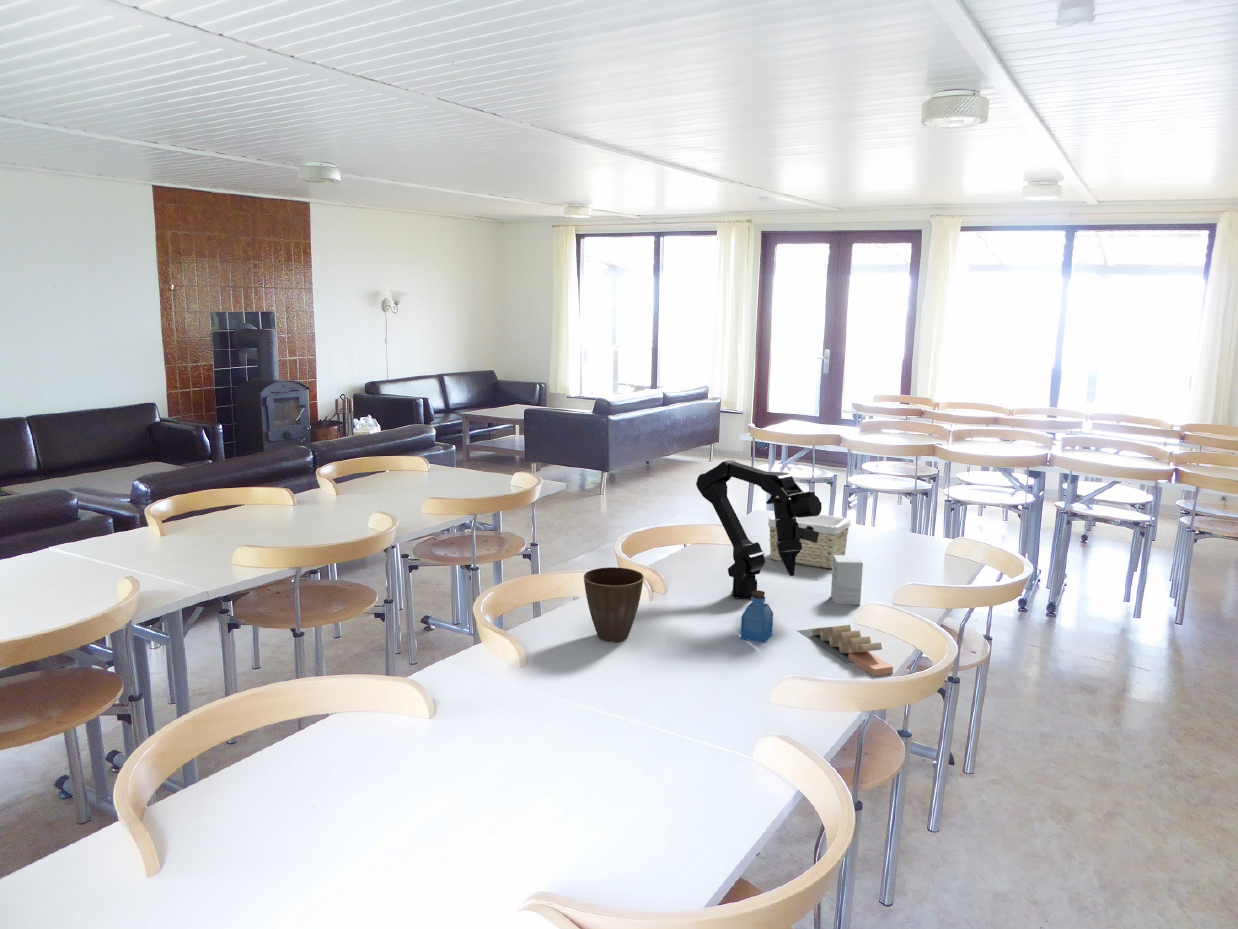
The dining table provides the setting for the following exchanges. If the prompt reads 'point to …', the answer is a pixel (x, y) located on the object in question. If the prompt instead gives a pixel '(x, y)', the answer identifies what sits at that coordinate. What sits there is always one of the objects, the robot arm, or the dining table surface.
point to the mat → (826, 645)
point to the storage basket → (827, 544)
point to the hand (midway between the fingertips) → (792, 576)
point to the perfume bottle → (757, 619)
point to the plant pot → (613, 600)
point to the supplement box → (846, 579)
